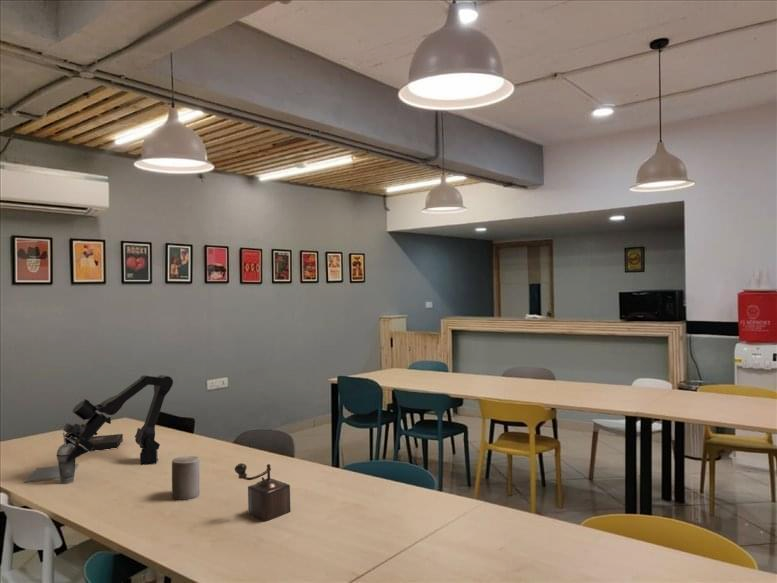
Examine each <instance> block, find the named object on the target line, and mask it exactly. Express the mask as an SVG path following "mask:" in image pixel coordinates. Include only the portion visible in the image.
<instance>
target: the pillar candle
mask: <svg viewBox="0 0 777 583" xmlns="http://www.w3.org/2000/svg"><path fill="white" fill-rule="evenodd" d="M200 460H201V459H200V457H199V456H196V455H183V456H177V457H175V458H173V459H172V460H171V493H172V494H171V499H172V498H173V499H172V500H174V501H176V500H185V501H190V500H189V499H191V500H193V498H194V499H196V498H198V497H199V496H200V491H201V490H200V484H201V483H200V481H201V480H200V477H201V476H200ZM197 496H198V497H197ZM195 497H196V498H195Z"/></svg>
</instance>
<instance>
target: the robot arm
mask: <svg viewBox="0 0 777 583" xmlns="http://www.w3.org/2000/svg"><path fill="white" fill-rule="evenodd" d="M173 384H174V381H173V378H172V377H171V376H168V375H164V374H163V375H158V376H149V375H145V374H144V375H141V376H140V378H138V379H137V380H135V381H134V382H133V383H132V384H130V385H129V386H126V388H125V389H123V390H122V391H121V392H119V393H118V394H116V395H114V396H111V397H109V398H107V399H105V400H103V401H102V402H100V403H99V404H93V403H91V402H90V401H89V400H88V399H83V401H80V402H79V403H78V404H76V405H75V406H74V407H73V409H72V410H71V411H72V413H73V414H74V415H76V416H77V417H78V418H80V419H81V420H83V421H85V420H87V421H86V422H85V423H81V424H78V423H73V424H71V423H65V425H64V428H63V430H62V432H64V434H65V442H66V443H70V444H73V445H74V449H73V451H72V452H71V453H70V455H69V456H68V458H67V459H66V461H67V462H69V461H71V460H73V459H75V458H76V459H77V458H78V457H81V456H82V455H85V454H86V453H89V452H92V451H91V450H92V449H93V448H94V444H93V443H91V442H90V441H89V440H90V439H91V438H92V437H93V436H98V431H99V430H100V429H101V427H103V426H104V424H105V423H107V424H109V425H111V424H112V420H111V418H112V417H110V416H113V415H116V414H117V413H118V412H119V411H120V410H121V409H122V407H123V405H124V404H125V403H126V402H127V401H128V400H130V399H131V398H132V397H134V396H135V395H136V394H138V393H139V392H140V391H141V390H143V389H144V388H145V387H147V386H149V385H150V386H153V397H152V401H151V403H150V405H149V409H148V411H147V415H146V418H145V422H144V424H143V426H142V427H140V428H139V427H138V428H137V429H136V434H135V435H134V438H135V443H136V445H138V446H139V448H140V449H141V451H140V453H139V463H140V465H141V466H142V465H143V464H144V465H152V464H153V463H155V464H157V462H158V461H159V458H158V455H159V454H158V450H159V448H160V446H161V444H160V443H159V442H157V441H156V440H155V438H156V428H155V427H156V424H157V421H158V418H159V415H160V412H161V409H162V406H163V403H164V400H165V397H166V395H167V394H168V393H169V392H170V390H171V389H172V387H173ZM98 412H99V413H98ZM106 415H108V416H106ZM87 450H89V452H88V451H87Z"/></svg>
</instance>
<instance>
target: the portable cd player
mask: <svg viewBox="0 0 777 583" xmlns="http://www.w3.org/2000/svg"><path fill="white" fill-rule="evenodd" d="M123 438H124V434H123V433H118V434H117V433H115V434H109V435H108V434H107V435H106V434H105V435H94V436H93V437H92V438H91V439H90V440H89V441H90V442H91V443H93V444H94V448H93V449H92V450H91V451H89V450H87V451H89V452H96V451H95V450H99V451H105V450H104V449H110V450H112V449H111V448H117V447H118V446H119V447H120V446H121V444H122V443H123V441H124V439H123ZM121 442H122V443H121ZM120 443H121V444H120ZM119 447H118V448H119ZM118 448H117V449H118Z"/></svg>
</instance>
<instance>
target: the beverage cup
mask: <svg viewBox="0 0 777 583" xmlns="http://www.w3.org/2000/svg"><path fill="white" fill-rule="evenodd" d="M65 434H66V433H65V432H62V437H63V444H62V445H60V446H59V447H58V449H57V451H56V459H57V466H59V474H60V478H59V479H60V480H59V481H60V484H62V485H66V484H71V483H73V482H74V480H75V472H76V469H75V464H76V460H77V458H75V459H73V460H71V461H69V462H67V461H66V459H67V458H68V456H69V455H70V453H71V452H72V451H73V449H74V445H73V444H70V443H66V442H65V438H66V437H65Z"/></svg>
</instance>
